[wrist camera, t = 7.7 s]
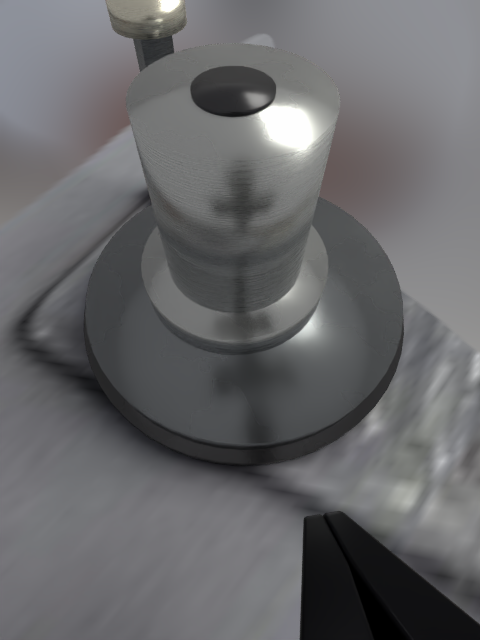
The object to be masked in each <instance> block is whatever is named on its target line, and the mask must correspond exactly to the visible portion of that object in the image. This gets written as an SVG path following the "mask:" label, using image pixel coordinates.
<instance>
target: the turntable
mask: <svg viewBox="0 0 480 640" xmlns="http://www.w3.org/2000/svg"><path fill="white" fill-rule="evenodd" d="M312 226H313V227H314V228H315V229H316V231H317V232H318V234H319V235H320V237H321V239H322V241H323V243H324V246H325V248H326V252H327V256H328V276H327V280H326V284H325V287H324V290H323V293H322V295H321V298H320V301H319V304H318V306H317V308H316V311H315V313H314V315H313V316H312V318H311V319H310V321H309V322H308V323H307V325H306V326H305V327H304V328H303V329H302V330H301V331H300V332H299V333H297V334H296V335H295V336H294V337H292V338H291V339H289V340H288V341H286V342H284V343H283V344H281V345H279V346H276V347H274V348H272V349H269V350H265V351H262V352H259V353H253V354H247V355H224V354H217V353H212V352H207V351H204V350H201V349H198V348H195V347H193V346H191V345H189V344H187V343H185V342H184V341H182V340H180V339H179V338H177V337H176V336H175V335H173V334H172V333H171V332H170V331H169V330H168V329H167V328H166V327H165V326H164V325H163V324H162V322H161V321H160V320H159V318H158V316H157V315H156V313H155V311H154V309H153V306H152V304H151V301H150V299H149V296H148V294H147V291H146V288H145V286H144V282H143V278H142V271H141V262H142V254H143V251H144V247H145V245H146V243H147V240H148V238H149V237H150V235H151V233H152V232H153V230H154V229H155V228H156V227H157V222H156V218H155V214H154V210H153V207H152V204H151V205H150V206H148V207H147V208H145V209H144V210H142V211H141V212H139V213H138V214H136V215H135V216H134V217H133V218H132V219H130V220H129V221H128V222H127V223H126V224H124V225H123V226H122V228H121V229H120V230H119V231H118V232H117V233H116V234H115V235H114V236H113V237H112V239H111V240H110V241H109V243H108V244H107V245H106V247H105V248H104V250H103V251H102V253H101V255H100V257H99V259H98V261H97V262H96V264H95V267H94V269H93V272H92V275H91V278H90V280H89V285H88V290H87V295H86V307H85V312H84V337H85V345H86V351H87V354H88V358H89V361H90V365H91V368H92V370H93V372H94V374H95V376H96V379H97V381H98V383H99V385H100V387H101V388H102V390H103V391H104V393H105V394H106V395H107V397H108V398H109V400H110V401H111V403H112V404H113V405H114V406H115V407H116V408H117V409H118V410H119V411H120V412H121V414H122V415H123V416H124V417H125V418H126V419H127V420H128V421H129V422H130V423H131V424H132V425H134V426H135V427H136V428H138V429H139V430H140V431H141V432H143V433H144V434H145V435H147V436H148V437H149V438H151V439H153V440H154V441H156V442H158V443H160V444H162V445H163V446H165V447H167V448H169V449H171V450H173V451H176V452H179V453H181V454H184V455H186V456H189V457H192V458H195V459H200V460H204V461H208V462H213V463H217V464H229V465H241V466H245V465H263V464H271V463H276V462H281V461H286V460H291V459H295V458H298V457H300V456H303V455H306V454H309V453H312V452H314V451H317V450H319V449H320V448H322V447H324V446H326V445H328V444H330V443H332V442H334V441H336V440H337V439H338V438H340V437H341V436H343V435H344V434H345V433H347V432H348V431H349V430H351V429H352V428H353V427H355V426H356V425H357V424H358V423H359V422H360V421H361V420H362V419H363V418H364V417H365V416H366V415H367V414H368V413H369V412H370V411H371V410H372V409H373V408H374V407H375V405H376V404H377V403H378V401H379V400H380V398H381V397H382V396H383V394H384V393H385V391H386V390H387V388H388V386H389V384H390V382H391V380H392V378H393V376H394V374H395V372H396V369H397V366H398V362H399V359H400V356H401V351H402V344H403V336H404V325H403V301H402V296H401V290H400V285H399V282H398V279H397V277H396V273H395V271H394V268H393V266H392V264H391V262H390V260H389V259H388V256H387V255H386V253H385V252H384V250H383V249H382V247H381V246H380V244H379V243H378V242H377V240H376V239H375V238H374V237H373V236H372V235H371V233H370V232H369V231H368V230H367V229H366V228H365V227H364V226H363V225H362V224H360V223H359V222H358V221H357V220H356V219H354V217H352V216H351V215H349V214H348V213H347V212H345V211H344V210H342V209H341V208H340V207H338V206H336V205H334V204H332V203H331V202H329V201H327V200H325V199H323V198H321V197H318V200H317V204H316V208H315V212H314V217H313V221H312Z"/></svg>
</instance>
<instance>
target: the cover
mask: <svg viewBox="0 0 480 640" xmlns="http://www.w3.org/2000/svg"><path fill="white" fill-rule="evenodd" d="M126 108H127V111H128V115H129V119H130V123H131V127H132V130H133V134H134V138H135V142H136V146H137V149H138V153H139V157H140V161H141V165H142V168H143V172H144V176H145V180H146V184H147V188H148V191H149V195H150V199H151V203H152V207H153V210H154V214H155V218H156V222H157V227H156V228H155V229H154V230H153V232H152V233H151V235H150V237H149V238H148V240H147V243H146V245H145V247H144V251H143V254H142V262H141V271H142V278H143V282H144V286H145V288H146V291H147V294H148V296H149V299H150V301H151V304H152V306H153V309H154V311H155V313H156V315H157V316H158V318H159V320H160V321H161V322H162V324H163V325H164V326H165V327H166V328H167V329H168V330H169V331H170V332H171V333H172V334H173V335H175V336H176V337H177V338H179V339H180V340H182V341H184V342H185V343H187V344H189V345H191V346H193V347H195V348H198V349H201V350H204V351H207V352H212V353H217V354H224V355H247V354H253V353H259V352H262V351H265V350H269V349H272V348H274V347H276V346H279V345H281V344H283V343H284V342H286V341H288V340H289V339H291V338H292V337H294V336H295V335H296V334H297V333H299V332H300V331H301V330H302V329H303V328H304V327H305V326H306V325H307V323H308V322H309V321H310V319H311V318H312V316H313V315H314V313H315V311H316V308H317V306H318V304H319V301H320V298H321V295H322V293H323V290H324V287H325V284H326V280H327V276H328V256H327V252H326V248H325V246H324V243H323V241H322V239H321V237H320V235H319V234H318V232H317V231H316V229H315V228H314V227H313V226H312V221H313V217H314V212H315V208H316V204H317V200H318V196H319V192H320V188H321V183H322V179H323V175H324V171H325V167H326V163H327V159H328V155H329V150H330V146H331V142H332V138H333V134H334V129H335V126H336V121H337V117H338V113H339V109H340V94H339V91H338V89H337V86H336V85H335V83H334V81H333V80H332V79H331V78H330V76H329V75H328V74H327V73H326V72H325V71H323V70H322V69H321V68H320V67H318V66H317V65H315V64H314V63H312V62H310V61H309V60H307V59H305V58H303V57H300V56H298V55H296V54H293V53H290V52H287V51H284V50H280V49H276V48H272V47H267V46H261V45H252V44H236V43H235V44H214V45H205V46H199V47H194V48H190V49H186V50H182V51H179V52H176V53H173V54H170V55H168V56H165V57H163V58H161V59H159V60H157V61H155V62H154V63H152V64H150V65H149V66H148V67H146V68H145V69H144V70H142V71H141V72H140V73H139V74H138V76H136V77H135V79H134V80H133V82H132V83H131V85H130V87H129V89H128V91H127V96H126Z"/></svg>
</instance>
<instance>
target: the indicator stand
mask: <svg viewBox="0 0 480 640" xmlns="http://www.w3.org/2000/svg"><path fill="white" fill-rule="evenodd" d="M105 1H106V4H107V9H108V12H109V17H110V21H111V25H112V28H113V30H114V31H115V32H116V33H118V34H120V35H122V36H125V37H128V38H132V39H133V40H134V45H135V49H136V55H137V59H138V64H139V69H140V72H141V71H142V70H144V69H145V68H146V67H148V66H149V65H150V64H152V63H154V62H155V61H157V60H159V59H161V58H163V57H165V56H168V55H170V54H173V53H174V48H173V40H172V35H173V34H176V33H178V32H179V31H181V30H182V29H183V28H184V27H185V26H186V24H187V18H186V8H185V0H105Z"/></svg>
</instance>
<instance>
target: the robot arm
mask: <svg viewBox="0 0 480 640" xmlns="http://www.w3.org/2000/svg"><path fill="white" fill-rule="evenodd" d="M300 640H480V624H479V623H478V622H476V621H475V620H474V619H473V618H472V617H470V616H469V615H468V614H467V613H465V612H464V611H463V610H462V609H461V608H459V607H458V606H457V605H456V604H455V603H453V602H452V601H451V600H450V599H448V598H447V597H446V596H445V595H444V594H442V593H441V592H440V591H439V590H437V589H436V588H435V587H434V586H433V585H431V584H430V583H429V582H428V581H426V580H425V579H424V578H423V577H422V576H420V575H419V574H418V573H417V572H415V571H414V570H413V569H412V568H411V567H409V566H408V565H407V564H406V563H404V562H403V561H402V560H401V559H400V558H398V557H397V556H396V555H395V554H393V553H392V552H391V551H390V550H389V549H387V548H386V547H385V546H384V545H383V544H381V543H380V542H379V541H378V540H376V539H375V538H374V537H373V536H372V535H370V534H369V533H368V532H367V531H365V530H364V529H363V528H362V527H361V526H359V525H358V524H357V523H356V522H354V521H353V520H352V519H351V518H350V517H348V516H347V515H346V514H345V513H343V512H341V511H336V512H330V513H325V514H324V515H323V516H322V515H320V514H319V515H313V516H307V517H305V518H304V525H303V556H302V587H301V618H300Z"/></svg>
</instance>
